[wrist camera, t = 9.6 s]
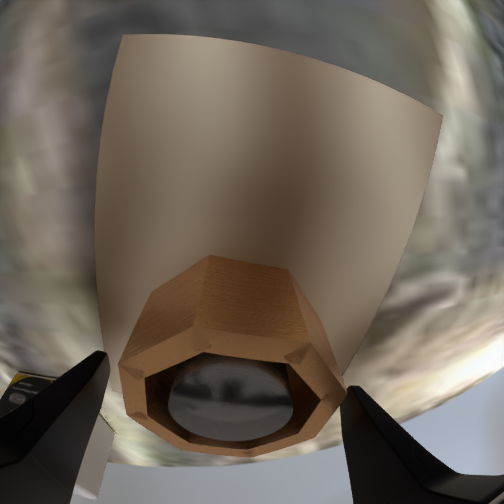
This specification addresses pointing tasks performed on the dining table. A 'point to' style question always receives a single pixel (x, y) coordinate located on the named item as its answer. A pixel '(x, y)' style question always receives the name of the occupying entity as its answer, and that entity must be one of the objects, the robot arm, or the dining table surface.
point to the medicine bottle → (97, 445)
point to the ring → (230, 349)
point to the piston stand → (254, 178)
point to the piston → (230, 397)
